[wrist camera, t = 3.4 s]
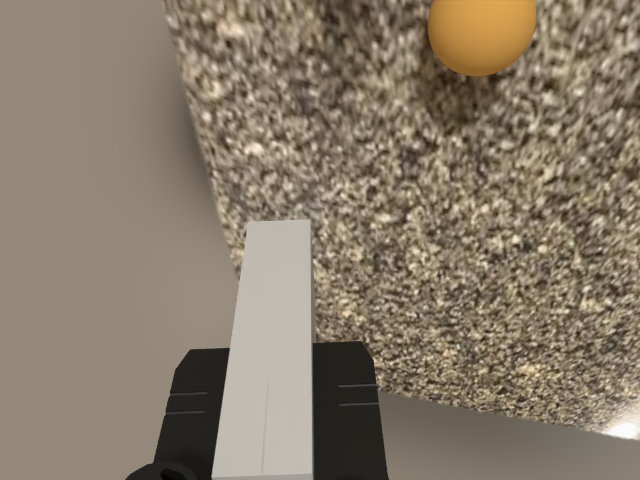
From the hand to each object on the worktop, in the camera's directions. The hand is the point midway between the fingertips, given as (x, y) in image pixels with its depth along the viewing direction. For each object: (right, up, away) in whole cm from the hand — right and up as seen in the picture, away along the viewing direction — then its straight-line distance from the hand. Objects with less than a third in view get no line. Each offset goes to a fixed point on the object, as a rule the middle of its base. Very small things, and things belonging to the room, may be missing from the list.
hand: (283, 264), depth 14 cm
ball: (+9, +12, +15) cm, 22 cm away
